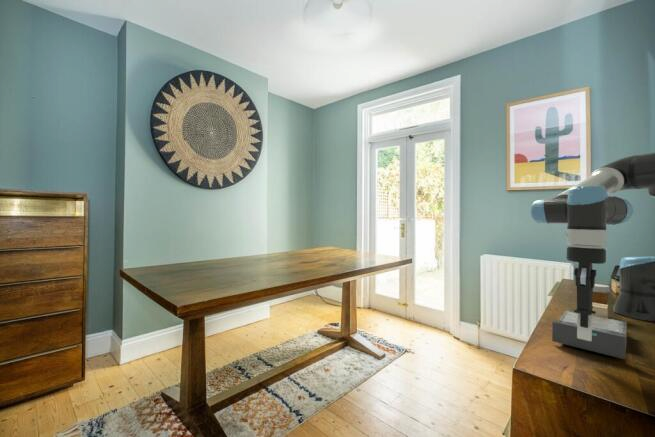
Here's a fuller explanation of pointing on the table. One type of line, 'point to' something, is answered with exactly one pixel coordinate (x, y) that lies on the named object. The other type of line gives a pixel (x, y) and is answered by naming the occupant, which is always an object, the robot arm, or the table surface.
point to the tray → (599, 343)
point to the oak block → (600, 310)
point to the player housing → (597, 323)
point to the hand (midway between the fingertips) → (584, 338)
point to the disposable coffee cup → (600, 293)
